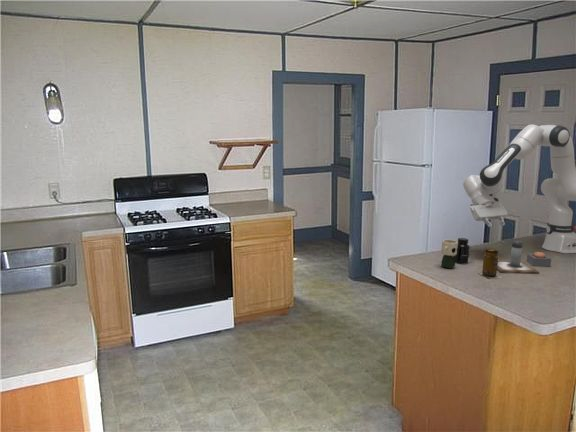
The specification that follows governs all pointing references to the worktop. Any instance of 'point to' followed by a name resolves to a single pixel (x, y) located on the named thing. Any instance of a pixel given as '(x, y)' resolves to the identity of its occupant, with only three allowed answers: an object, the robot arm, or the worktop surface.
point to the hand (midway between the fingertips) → (497, 225)
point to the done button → (539, 255)
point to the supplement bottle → (462, 251)
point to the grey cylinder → (516, 253)
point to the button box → (538, 260)
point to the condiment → (490, 264)
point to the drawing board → (515, 268)
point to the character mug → (449, 253)
